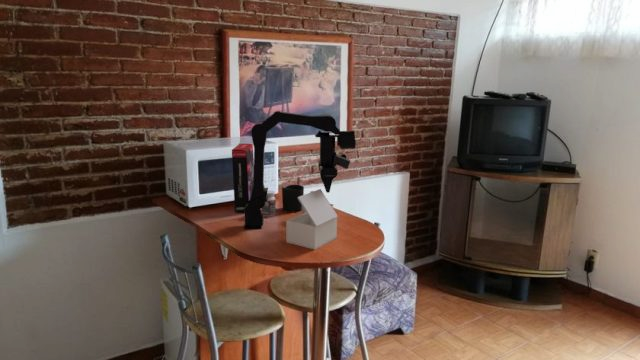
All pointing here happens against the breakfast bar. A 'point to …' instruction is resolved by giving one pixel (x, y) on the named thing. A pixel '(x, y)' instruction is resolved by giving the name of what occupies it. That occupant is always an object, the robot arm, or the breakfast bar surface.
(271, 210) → the pill bottle
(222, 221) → the breakfast bar surface
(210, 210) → the breakfast bar surface
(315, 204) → the carton flap
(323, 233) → the carton
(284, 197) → the pen holder
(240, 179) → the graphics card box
